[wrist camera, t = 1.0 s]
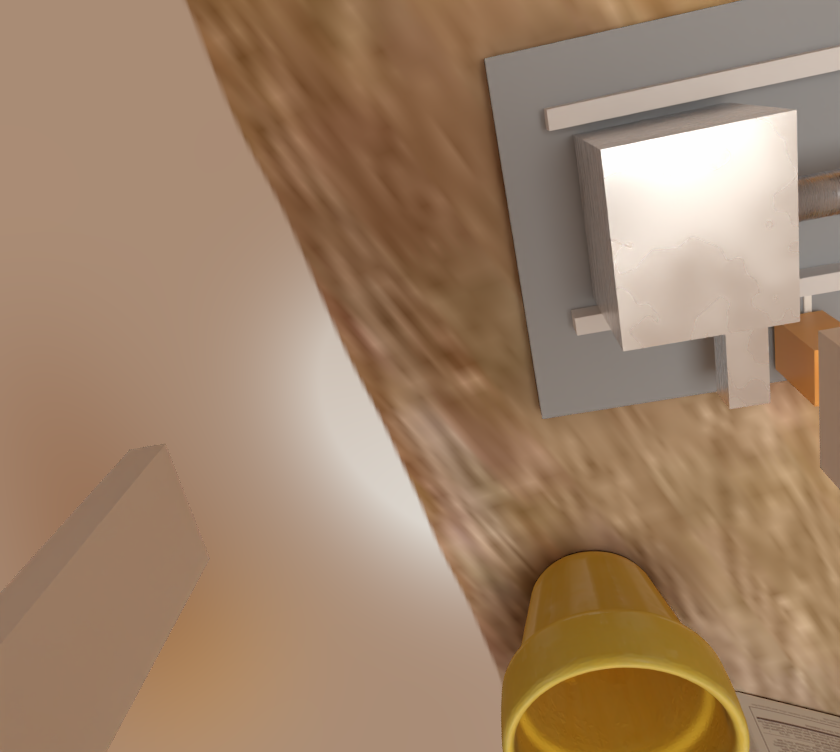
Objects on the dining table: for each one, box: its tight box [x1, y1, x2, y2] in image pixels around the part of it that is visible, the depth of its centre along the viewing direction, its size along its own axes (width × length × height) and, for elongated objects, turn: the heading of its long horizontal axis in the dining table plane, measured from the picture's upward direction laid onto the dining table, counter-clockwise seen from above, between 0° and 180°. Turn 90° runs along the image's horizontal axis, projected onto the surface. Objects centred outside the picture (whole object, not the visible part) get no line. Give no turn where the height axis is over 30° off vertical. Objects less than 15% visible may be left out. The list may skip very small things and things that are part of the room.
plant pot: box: [501, 551, 750, 752], centre depth 35 cm, size 10×10×10 cm
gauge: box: [574, 102, 840, 409], centre depth 27 cm, size 12×14×6 cm
